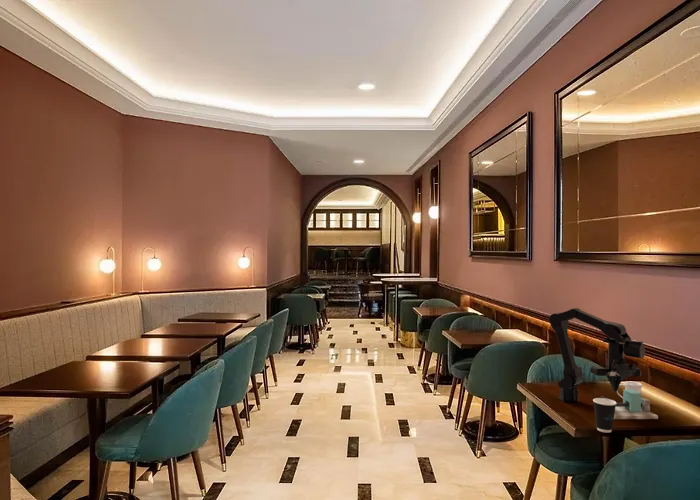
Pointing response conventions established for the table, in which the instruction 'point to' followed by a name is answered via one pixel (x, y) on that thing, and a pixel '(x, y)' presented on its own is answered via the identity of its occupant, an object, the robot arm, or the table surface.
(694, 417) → the table surface
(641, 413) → the cord board
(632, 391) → the teal block
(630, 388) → the cup
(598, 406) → the dixie cup
